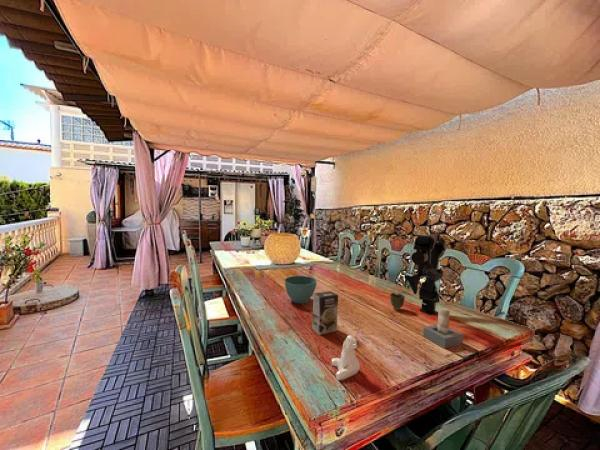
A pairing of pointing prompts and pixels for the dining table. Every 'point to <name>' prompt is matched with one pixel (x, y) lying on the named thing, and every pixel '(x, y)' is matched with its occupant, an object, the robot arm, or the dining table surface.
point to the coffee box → (325, 312)
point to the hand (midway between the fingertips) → (422, 293)
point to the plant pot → (300, 288)
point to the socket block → (443, 337)
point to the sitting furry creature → (347, 360)
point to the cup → (397, 300)
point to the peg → (443, 321)
